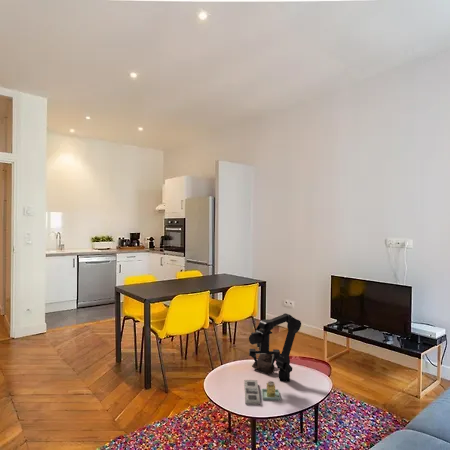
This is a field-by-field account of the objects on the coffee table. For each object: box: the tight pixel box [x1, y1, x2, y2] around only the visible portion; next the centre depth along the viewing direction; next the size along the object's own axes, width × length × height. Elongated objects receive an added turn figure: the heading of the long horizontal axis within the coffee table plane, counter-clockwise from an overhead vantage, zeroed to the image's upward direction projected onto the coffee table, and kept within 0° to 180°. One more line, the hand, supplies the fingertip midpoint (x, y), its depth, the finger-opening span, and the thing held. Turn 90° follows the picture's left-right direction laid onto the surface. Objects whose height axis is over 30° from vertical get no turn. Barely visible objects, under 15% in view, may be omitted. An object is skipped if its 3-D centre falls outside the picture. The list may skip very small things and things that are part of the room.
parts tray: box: [261, 388, 281, 401], centre depth 208 cm, size 10×10×2 cm
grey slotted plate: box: [243, 379, 261, 405], centre depth 210 cm, size 8×24×3 cm, turn 178°
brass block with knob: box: [266, 380, 276, 397], centre depth 208 cm, size 4×4×7 cm
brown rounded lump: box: [251, 354, 275, 375], centre depth 244 cm, size 10×15×15 cm
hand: (264, 366), depth 219 cm, fingers open, 9 cm apart
